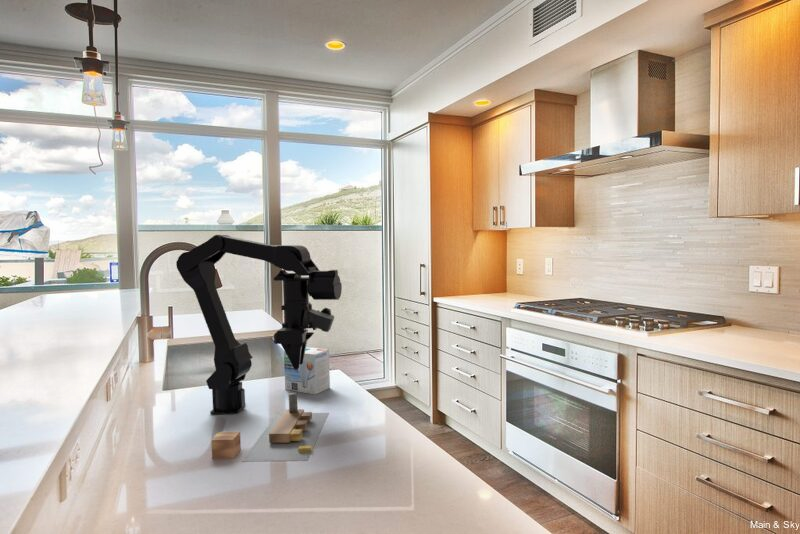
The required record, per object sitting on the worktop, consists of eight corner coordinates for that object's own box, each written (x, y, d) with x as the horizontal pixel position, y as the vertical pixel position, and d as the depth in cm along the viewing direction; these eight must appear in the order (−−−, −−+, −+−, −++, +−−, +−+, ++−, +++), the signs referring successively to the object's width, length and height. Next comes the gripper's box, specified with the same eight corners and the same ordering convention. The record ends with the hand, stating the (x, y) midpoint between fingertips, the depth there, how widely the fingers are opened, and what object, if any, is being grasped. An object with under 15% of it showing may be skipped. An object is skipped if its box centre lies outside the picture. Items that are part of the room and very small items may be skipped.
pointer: (298, 452, 95) (298, 448, 95) (299, 450, 96) (299, 446, 96) (311, 452, 95) (310, 448, 95) (312, 450, 96) (311, 445, 96)
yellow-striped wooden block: (212, 461, 93) (211, 439, 93) (220, 452, 97) (219, 431, 97) (233, 460, 93) (232, 439, 93) (241, 451, 97) (240, 431, 97)
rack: (269, 442, 99) (268, 413, 99) (286, 417, 113) (285, 392, 113) (299, 442, 99) (298, 413, 99) (313, 417, 113) (312, 391, 113)
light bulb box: (284, 390, 137) (282, 350, 136) (300, 383, 143) (298, 345, 142) (316, 394, 132) (314, 354, 131) (331, 387, 138) (329, 348, 137)
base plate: (241, 463, 92) (241, 461, 92) (277, 415, 117) (277, 413, 117) (307, 462, 92) (307, 460, 92) (328, 414, 117) (328, 412, 117)
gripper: (324, 304, 107) (326, 376, 108) (336, 294, 126) (338, 356, 127) (271, 305, 107) (274, 377, 108) (292, 295, 126) (294, 357, 127)
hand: (298, 366), depth 117 cm, fingers open, 4 cm apart
